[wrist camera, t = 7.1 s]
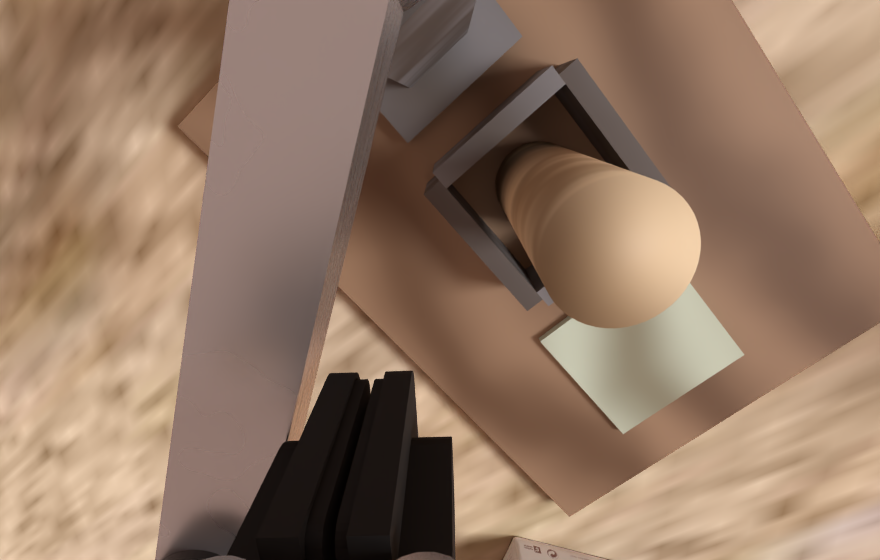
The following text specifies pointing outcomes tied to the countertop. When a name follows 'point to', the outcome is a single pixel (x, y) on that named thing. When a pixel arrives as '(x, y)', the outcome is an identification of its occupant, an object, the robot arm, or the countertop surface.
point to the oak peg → (599, 234)
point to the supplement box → (542, 551)
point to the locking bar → (269, 247)
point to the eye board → (626, 146)
